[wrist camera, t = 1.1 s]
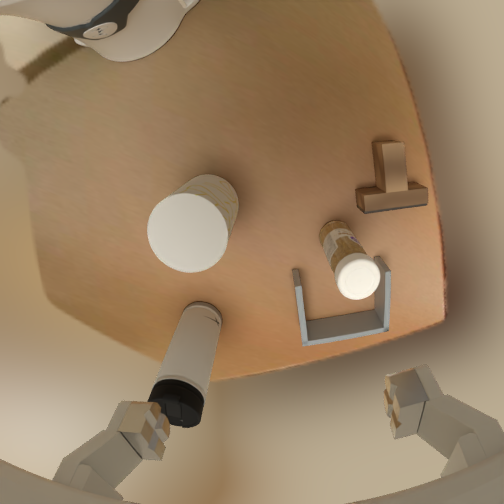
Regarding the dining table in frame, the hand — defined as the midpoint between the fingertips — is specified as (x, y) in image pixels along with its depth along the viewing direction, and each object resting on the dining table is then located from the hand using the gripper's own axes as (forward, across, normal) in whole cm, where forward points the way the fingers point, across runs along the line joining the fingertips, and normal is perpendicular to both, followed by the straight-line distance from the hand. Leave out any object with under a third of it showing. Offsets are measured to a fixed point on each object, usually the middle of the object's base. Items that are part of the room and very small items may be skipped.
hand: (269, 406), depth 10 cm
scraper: (+33, -16, -1) cm, 37 cm away
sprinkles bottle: (+34, -7, +7) cm, 35 cm away
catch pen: (+33, -7, +16) cm, 38 cm away
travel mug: (+33, +14, +16) cm, 40 cm away
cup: (+33, +8, -1) cm, 34 cm away
